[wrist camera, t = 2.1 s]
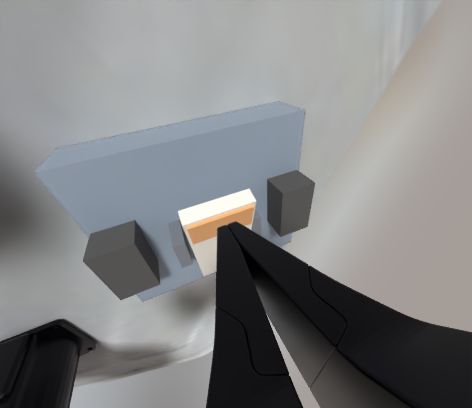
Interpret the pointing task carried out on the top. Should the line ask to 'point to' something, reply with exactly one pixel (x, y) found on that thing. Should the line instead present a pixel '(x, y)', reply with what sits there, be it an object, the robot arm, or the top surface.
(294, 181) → the plug right
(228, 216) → the breaker paddle
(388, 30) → the top surface
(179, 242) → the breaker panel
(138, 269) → the plug left
